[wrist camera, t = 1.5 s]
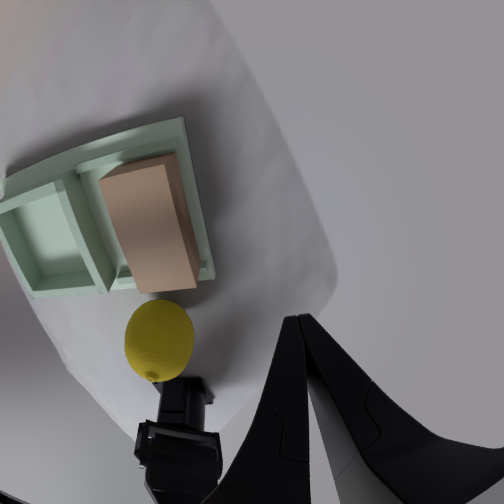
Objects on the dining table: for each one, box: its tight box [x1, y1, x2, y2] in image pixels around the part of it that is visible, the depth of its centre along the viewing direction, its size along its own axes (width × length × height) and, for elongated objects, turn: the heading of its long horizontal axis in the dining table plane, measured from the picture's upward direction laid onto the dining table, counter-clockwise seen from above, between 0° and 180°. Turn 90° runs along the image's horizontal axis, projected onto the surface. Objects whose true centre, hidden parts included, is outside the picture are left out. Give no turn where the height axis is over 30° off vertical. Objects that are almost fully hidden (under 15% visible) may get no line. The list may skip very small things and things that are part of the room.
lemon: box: [125, 299, 194, 382], centre depth 21 cm, size 6×6×8 cm
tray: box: [0, 116, 216, 299], centre depth 18 cm, size 12×17×3 cm
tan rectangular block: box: [98, 152, 201, 293], centre depth 17 cm, size 8×4×3 cm, turn 7°
